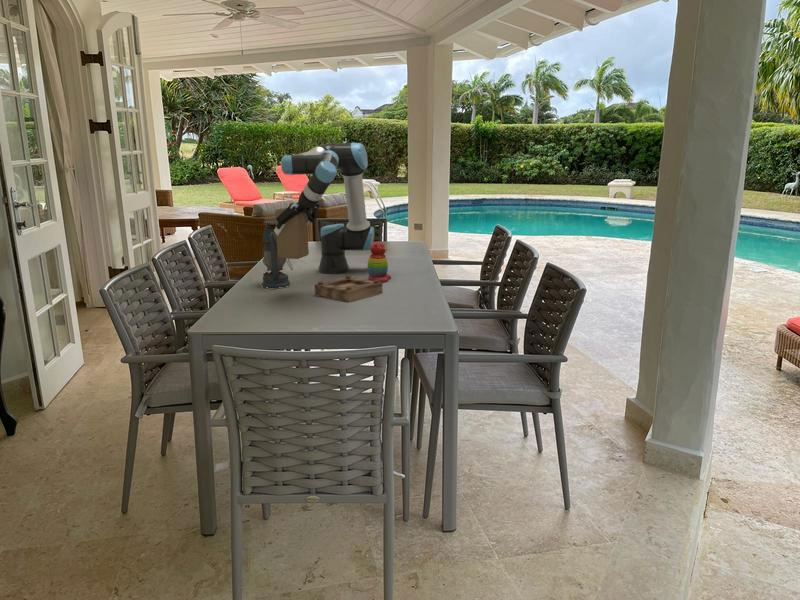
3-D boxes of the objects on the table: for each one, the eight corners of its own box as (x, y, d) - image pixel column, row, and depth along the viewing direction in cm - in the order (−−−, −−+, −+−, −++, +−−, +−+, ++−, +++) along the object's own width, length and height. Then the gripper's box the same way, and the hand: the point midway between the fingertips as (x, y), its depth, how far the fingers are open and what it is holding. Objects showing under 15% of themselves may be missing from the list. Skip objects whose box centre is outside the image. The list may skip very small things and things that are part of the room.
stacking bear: (386, 282, 275) (386, 244, 270) (365, 282, 277) (364, 243, 272) (391, 278, 285) (391, 240, 281) (371, 277, 287) (370, 240, 283)
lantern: (262, 281, 280) (257, 217, 273) (293, 280, 283) (289, 216, 275) (261, 291, 261) (256, 221, 254) (294, 289, 264) (290, 220, 257)
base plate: (315, 295, 252) (314, 282, 251) (348, 286, 267) (348, 274, 266) (349, 302, 240) (348, 288, 239) (382, 292, 255) (382, 280, 253)
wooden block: (309, 255, 253) (307, 207, 249) (299, 259, 244) (296, 209, 239) (288, 254, 256) (285, 207, 252) (276, 258, 247) (273, 209, 242)
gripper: (291, 204, 226) (269, 241, 239) (338, 200, 244) (315, 234, 257) (281, 189, 228) (260, 227, 241) (329, 186, 246) (306, 221, 259)
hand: (288, 231), depth 249 cm, fingers closed on wooden block, 12 cm apart
